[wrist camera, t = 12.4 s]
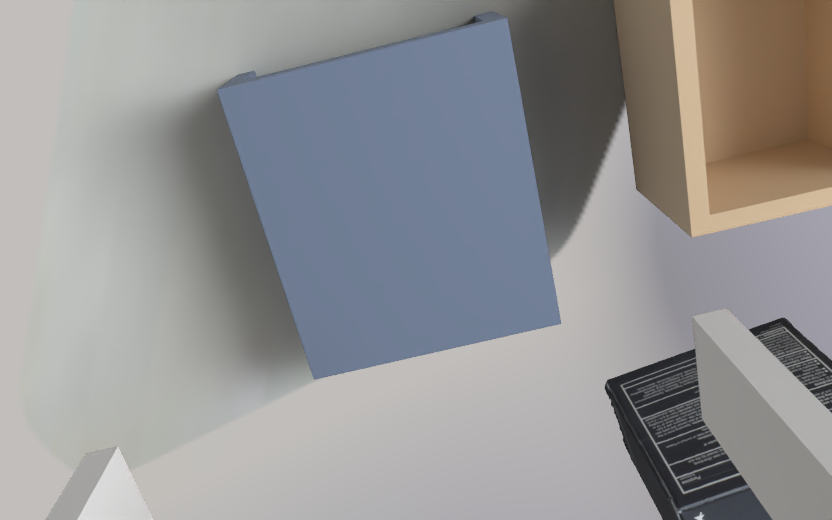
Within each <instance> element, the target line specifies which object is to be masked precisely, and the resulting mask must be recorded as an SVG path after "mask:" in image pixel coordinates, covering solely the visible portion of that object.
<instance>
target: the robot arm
mask: <svg viewBox="0 0 832 520" xmlns="http://www.w3.org/2000/svg"><path fill="white" fill-rule="evenodd" d="M692 322H693V331H694V342H695V352H696V362H697V372H698V382H699V392H700V402H701V412H702V420H703V421H704V423H705V424H706V425H707V427H708V428H709V430H710V431H711V433H712V434H713V435H714V437H715V438H716V440H717V441H718V443H719V444H720V445H721V447H722V448H723V450H724V451H725V453H726V454H727V455H728V457H729V458H730V460H731V461H732V463H733V464H734V465H735V467H736V468H737V470H738V471H739V473H740V474H741V475H742V477H743V478H744V480H745V481H746V483H747V484H748V486H749V487H750V488H751V490H752V491H753V493H754V494H755V496H756V497H757V498H758V500H759V501H760V503H761V504H762V506H763V507H764V508H765V510H766V511H767V513H768V514H769V516H770V517H771V518H772V520H832V413H831V412H830V411H829V410H828V409H827V408H826V407H825V406H824V405H823V404H822V403H821V402H820V401H819V400H818V399H817V398H816V397H815V396H814V395H813V394H812V393H811V392H810V391H809V390H808V389H807V388H806V387H805V386H804V385H803V384H802V383H801V382H800V381H799V380H798V379H797V378H796V377H795V376H794V375H793V374H792V373H791V372H790V371H789V370H788V369H787V368H786V367H785V366H784V365H783V364H782V363H781V362H780V361H779V360H778V359H777V358H776V357H775V356H774V355H773V354H772V353H771V352H770V351H769V350H768V349H767V348H766V347H765V346H764V345H763V344H762V343H761V342H760V341H759V340H758V339H757V338H756V337H755V336H754V335H753V334H752V333H751V332H750V331H749V330H748V329H747V328H746V327H745V326H744V325H743V324H742V323H741V322H740V321H739V320H738V319H737V318H736V317H735V316H734V315H733V314H732V313H731V312H730V311H729V310H728V309H727V308H726V309H721V310H717V311H712V312H708V313H704V314H699V315H695V316H692ZM46 520H153V518H152V516H151V514H150V512H149V509H148V507H147V505H146V503H145V502H144V499H143V497H142V495H141V493H140V491H139V489H138V487H137V485H136V483H135V481H134V479H133V477H132V475H131V473H130V470H129V468H128V466H127V464H126V462H125V460H124V458H123V456H122V454H121V452H120V450H119V448H118V447H114V448H109V449H105V450H101V451H96V452H92V453H87V454H85V456H84V458H83V459H82V461H81V463H80V464H79V466H78V468H77V469H76V471H75V472H74V474H73V476H72V477H71V479H70V481H69V482H68V484H67V485H66V487H65V489H64V490H63V492H62V494H61V495H60V497H59V499H58V500H57V502H56V503H55V505H54V507H53V508H52V510H51V512H50V513H49V515H48V517H47V518H46Z"/></svg>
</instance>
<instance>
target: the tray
mask: <svg viewBox="0 0 832 520" xmlns="http://www.w3.org/2000/svg"><path fill="white" fill-rule="evenodd" d="M614 8H615V16H616V25H617V33H618V41H619V49H620V58H621V66H622V74H623V82H624V91H625V99H626V107H627V115H628V123H629V131H630V140H631V148H632V156H633V165H634V173H635V181H636V189H637V190H638V191H639V192H640V193H641V194H642V195H644V196H645V197H646V198H647V199H648V200H649V201H650V202H652V203H653V204H654V205H655V206H656V207H657V208H658V209H660V210H661V211H662V212H663V213H664V214H665V215H666V216H668V217H669V218H670V219H671V220H672V221H673V222H675V223H676V224H677V225H678V226H679V227H680V228H681V229H683V230H684V231H685V232H686V233H687V234H688V235H690V236H691V237H697V236H701V235H705V234H710V233H714V232H718V231H723V230H727V229H732V228H736V227H740V226H745V225H749V224H753V223H757V222H762V221H766V220H771V219H775V218H779V217H784V216H788V215H792V214H797V213H801V212H805V211H810V210H814V209H818V208H823V207H827V206H831V205H832V0H614Z"/></svg>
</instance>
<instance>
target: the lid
mask: <svg viewBox="0 0 832 520" xmlns="http://www.w3.org/2000/svg"><path fill="white" fill-rule="evenodd" d="M475 21H476V23H473V24H469V25H465V26H461V27H456V28H452V29H448V30H444V31H440V32H436V33H432V34H428V35H424V36H420V37H416V38H412V39H408V40H404V41H400V42H396V43H392V44H388V45H384V46H380V47H376V48H372V49H368V50H364V51H360V52H356V53H352V54H348V55H344V56H340V57H336V58H332V59H328V60H324V61H320V62H316V63H312V64H308V65H304V66H300V67H296V68H292V69H288V70H284V71H280V72H276V73H272V74H267V75H263V76H259V77H256V74H255V71H251V72H247V73H243V74H239V75H237V76H235V77H234V78H233V79H231V80H230V81H229V82H227V83H226V84H224V85H223V86H222V87H220V88H219V89H218V90H217V92H218V95H219V98H220V101H221V104H222V107H223V110H224V113H225V116H226V119H227V122H228V125H229V128H230V131H231V134H232V137H233V140H234V143H235V146H236V149H237V152H238V155H239V157H240V160H241V163H242V166H243V169H244V172H245V175H246V178H247V181H248V184H249V187H250V190H251V193H252V196H253V199H254V202H255V205H256V208H257V211H258V214H259V217H260V220H261V223H262V226H263V229H264V232H265V235H266V238H267V241H268V244H269V247H270V250H271V253H272V256H273V259H274V261H275V264H276V267H277V270H278V273H279V276H280V279H281V282H282V285H283V288H284V291H285V294H286V297H287V300H288V303H289V306H290V309H291V312H292V315H293V318H294V321H295V324H296V327H297V330H298V333H299V336H300V339H301V342H302V345H303V348H304V351H305V354H306V357H307V360H308V363H309V365H310V368H311V371H312V374H313V377H314V380H315V379H319V378H323V377H328V376H332V375H337V374H341V373H345V372H350V371H354V370H358V369H363V368H368V367H372V366H376V365H381V364H385V363H389V362H394V361H399V360H403V359H407V358H411V357H416V356H420V355H425V354H429V353H434V352H438V351H443V350H447V349H452V348H456V347H460V346H465V345H469V344H473V343H478V342H482V341H487V340H491V339H496V338H500V337H505V336H509V335H513V334H518V333H522V332H527V331H531V330H535V329H540V328H544V327H548V326H553V325H558V324H561V320H560V314H559V308H558V304H557V297H556V291H555V285H554V280H553V274H552V268H551V263H550V257H549V251H548V246H547V240H546V234H545V229H544V223H543V217H542V212H541V206H540V200H539V195H538V189H537V183H536V178H535V172H534V166H533V161H532V155H531V149H530V144H529V138H528V132H527V127H526V121H525V115H524V109H523V104H522V98H521V92H520V87H519V81H518V75H517V70H516V64H515V58H514V53H513V47H512V41H511V36H510V30H509V24H508V19H507V18H506V17H504V16H501V15H499V14H496V13H494V12H488V13H484V14H480V15H476V16H475Z"/></svg>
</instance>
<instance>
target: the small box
mask: <svg viewBox="0 0 832 520" xmlns="http://www.w3.org/2000/svg"><path fill="white" fill-rule="evenodd" d="M749 331H750V332H751V333H752V334H753V335H754V336H755V337H756V338H757V339H758V340H759V341H760V342H761V343H762V344H763V345H764V346H765V347H766V348H767V349H768V350H769V351H770V352H771V353H772V354H773V355H774V356H775V357H776V358H777V359H778V360H779V361H780V362H781V363H782V364H783V365H784V366H785V367H786V368H787V369H788V370H789V371H790V372H791V373H792V374H793V375H794V376H795V377H796V378H797V379H798V380H799V381H800V382H801V383H802V384H803V385H804V386H805V387H806V388H807V389H808V390H809V391H810V392H811V393H812V394H813V395H814V396H815V397H816V398H817V399H818V400H819V401H820V402H821V403H822V404H823V405H824V406H825V407H826V408H827V409H828V410H829V411H830V412H831V413H832V360H830V359H829V358H828V357H827V356H826V355H825V354H824V353H822V352H821V351H820V350H819V349H818V348H817V347H816V346H815V345H814V344H813V343H812V342H810V341H809V340H807V339H806V338H805V337H804V336H803V335H802V334H801V333H800V332H799V331H798V330H796V329H795V328H794V327H793V326H792V324H791V323H790V322H789V321H788V320H787V319H785V318H780V319H777V320H775V321H772V322H769V323H766V324H763V325H760V326H758V327H755V328H752V329H749ZM605 390H606V392H607V394H608V396H609V399H611V405H612V406H613V407H614V413H615V414H616V418H617V419H618V423H619V425H620V430H621V431H622V435H623V441H624V443H625V446H626V449H627V450H628V453H629V454H630V457H631V460H632V461H633V463H634V465H635V466H636V468H637V471H638V472H639V474H640V477H641V478H642V480H643V482H644V484H645V485H646V488H647V489H648V491H649V493H650V495H651V497H652V499H653V501H654V503H655V505H656V507H657V509H658V511H659V512H660V514H661V516H662V519H663V520H772V518H771V517H770V516H769V514H768V513H767V511H766V510H765V508H764V507H763V506H762V504H761V503H760V501H759V500H758V498H757V497H756V496H755V494H754V493H753V491H752V490H751V488H750V487H749V486H748V484H747V483H746V481H745V480H744V478H743V477H742V475H741V474H740V473H739V471H738V470H737V468H736V467H735V465H734V464H733V463H732V461H731V460H730V458H729V457H728V455H727V454H726V453H725V451H724V450H723V448H722V447H721V445H720V444H719V443H718V441H717V440H716V438H715V437H714V435H713V434H712V433H711V431H710V430H709V428H708V427H707V425H706V424H705V423H704V421H703V420H702V412H701V402H700V392H699V382H698V372H697V362H696V352H695V349H693V350H690V351H688V352H685V353H682V354H679V355H676V356H674V357H671V358H668V359H666V360H662V361H659V362H657V363H654V364H651V365H648V366H645V367H643V368H640V369H637V370H635V371H632V372H629V373H626V374H623V375H620V376H618V377H615V378H612V379H609V380H607V382H606V385H605Z"/></svg>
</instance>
